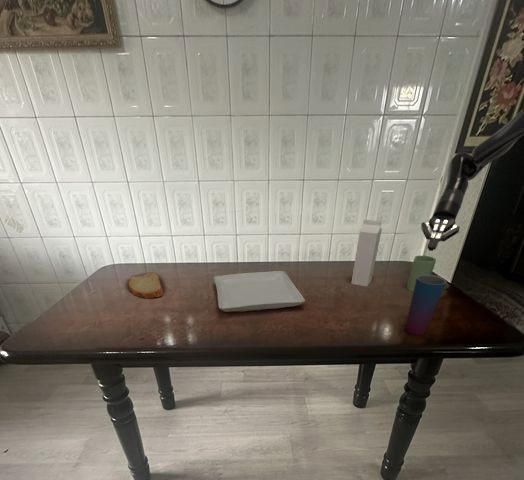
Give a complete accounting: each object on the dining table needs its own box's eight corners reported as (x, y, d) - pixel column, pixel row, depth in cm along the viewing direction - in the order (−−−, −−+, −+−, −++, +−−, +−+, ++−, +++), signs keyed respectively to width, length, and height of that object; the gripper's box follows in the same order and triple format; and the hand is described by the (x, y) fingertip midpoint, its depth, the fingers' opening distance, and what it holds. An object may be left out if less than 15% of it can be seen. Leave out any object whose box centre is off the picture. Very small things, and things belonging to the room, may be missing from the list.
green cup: (426, 287, 109) (436, 256, 103) (425, 294, 104) (436, 262, 98) (406, 284, 111) (415, 254, 105) (405, 290, 107) (414, 260, 100)
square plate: (220, 319, 91) (219, 307, 89) (214, 284, 113) (213, 274, 111) (305, 310, 95) (306, 299, 93) (283, 278, 117) (284, 269, 115)
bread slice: (157, 300, 103) (155, 289, 100) (112, 294, 107) (109, 284, 104) (182, 280, 117) (180, 271, 115) (142, 276, 121) (139, 267, 119)
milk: (355, 278, 117) (366, 218, 104) (371, 281, 114) (384, 219, 101) (350, 284, 112) (361, 221, 100) (367, 287, 110) (379, 223, 97)
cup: (397, 330, 85) (412, 279, 76) (408, 321, 88) (423, 272, 80) (422, 339, 81) (440, 286, 72) (432, 329, 85) (450, 279, 76)
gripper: (429, 197, 108) (411, 240, 106) (471, 201, 101) (453, 246, 100) (427, 211, 114) (411, 252, 113) (467, 215, 108) (450, 258, 107)
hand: (430, 249), depth 107 cm, fingers closed
